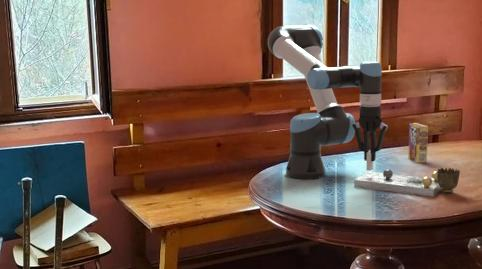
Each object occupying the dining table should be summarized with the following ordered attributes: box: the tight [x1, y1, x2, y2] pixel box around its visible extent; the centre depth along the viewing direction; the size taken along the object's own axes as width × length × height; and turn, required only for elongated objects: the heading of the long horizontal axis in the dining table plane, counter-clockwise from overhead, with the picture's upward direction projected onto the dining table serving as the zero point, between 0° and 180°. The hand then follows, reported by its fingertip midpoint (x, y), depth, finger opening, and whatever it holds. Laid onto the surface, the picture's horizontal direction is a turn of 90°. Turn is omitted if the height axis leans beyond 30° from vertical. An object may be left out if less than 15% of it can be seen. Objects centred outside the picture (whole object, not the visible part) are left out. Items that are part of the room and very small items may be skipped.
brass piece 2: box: [430, 170, 438, 181], centre depth 220 cm, size 3×3×3 cm
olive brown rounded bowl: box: [436, 167, 461, 195], centre depth 213 cm, size 8×7×8 cm
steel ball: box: [382, 169, 394, 179], centre depth 224 cm, size 3×3×3 cm
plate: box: [353, 170, 443, 198], centre depth 222 cm, size 28×14×2 cm, turn 59°
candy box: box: [407, 122, 429, 164], centre depth 260 cm, size 9×4×15 cm, turn 13°
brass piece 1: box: [422, 176, 432, 187], centre depth 212 cm, size 3×3×3 cm
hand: (369, 169), depth 227 cm, fingers closed
